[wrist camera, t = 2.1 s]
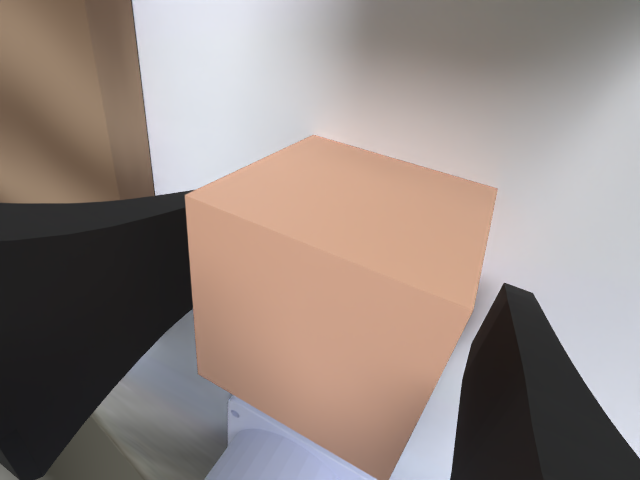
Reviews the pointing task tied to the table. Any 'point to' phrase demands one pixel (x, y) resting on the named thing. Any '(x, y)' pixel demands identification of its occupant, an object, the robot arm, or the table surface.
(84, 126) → the walnut base
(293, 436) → the robot arm
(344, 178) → the terracotta block
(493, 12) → the table surface
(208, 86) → the table surface
